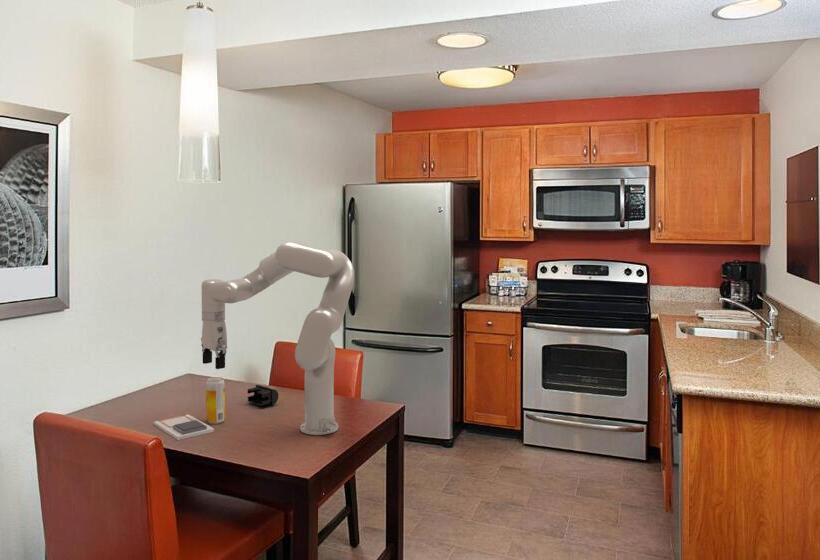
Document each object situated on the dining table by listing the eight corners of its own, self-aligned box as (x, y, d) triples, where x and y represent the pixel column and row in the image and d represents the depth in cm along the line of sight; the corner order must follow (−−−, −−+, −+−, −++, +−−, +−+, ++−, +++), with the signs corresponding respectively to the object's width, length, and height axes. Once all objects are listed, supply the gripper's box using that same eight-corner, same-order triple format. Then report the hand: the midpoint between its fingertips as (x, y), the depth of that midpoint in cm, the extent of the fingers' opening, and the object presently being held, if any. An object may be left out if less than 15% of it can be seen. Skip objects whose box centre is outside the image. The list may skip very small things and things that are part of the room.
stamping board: (214, 431, 200) (213, 424, 200) (177, 440, 192) (177, 433, 192) (188, 417, 215) (188, 410, 215) (153, 424, 207) (153, 417, 207)
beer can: (217, 417, 215) (216, 375, 213) (229, 421, 211) (228, 378, 210) (203, 422, 210) (202, 379, 208) (214, 425, 206) (213, 382, 205)
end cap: (278, 405, 230) (278, 387, 229) (263, 409, 224) (263, 391, 224) (262, 400, 236) (262, 383, 236) (247, 404, 231) (246, 386, 230)
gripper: (235, 318, 203) (236, 369, 205) (212, 312, 216) (212, 359, 217) (214, 320, 198) (214, 372, 200) (191, 313, 211) (192, 362, 212)
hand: (213, 365), depth 209 cm, fingers open, 9 cm apart
